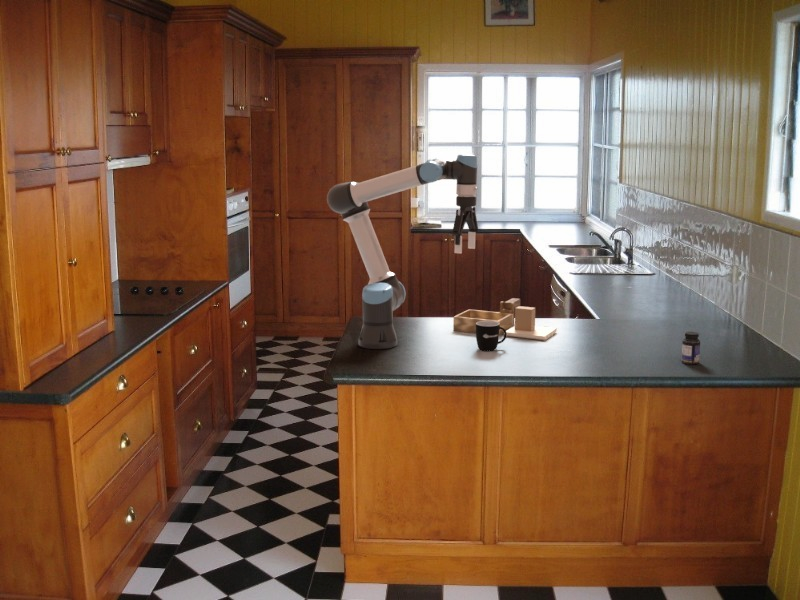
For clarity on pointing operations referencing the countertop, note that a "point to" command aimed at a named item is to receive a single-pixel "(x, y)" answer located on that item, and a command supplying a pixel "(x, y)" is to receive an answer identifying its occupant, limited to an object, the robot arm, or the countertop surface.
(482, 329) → the mug
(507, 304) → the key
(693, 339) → the pill bottle
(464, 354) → the countertop surface
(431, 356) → the countertop surface
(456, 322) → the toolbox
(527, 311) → the lid
